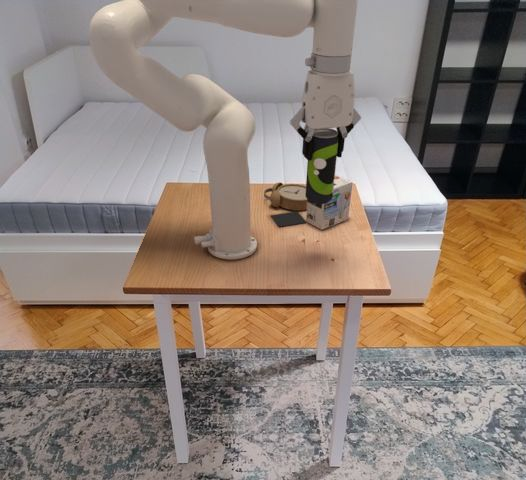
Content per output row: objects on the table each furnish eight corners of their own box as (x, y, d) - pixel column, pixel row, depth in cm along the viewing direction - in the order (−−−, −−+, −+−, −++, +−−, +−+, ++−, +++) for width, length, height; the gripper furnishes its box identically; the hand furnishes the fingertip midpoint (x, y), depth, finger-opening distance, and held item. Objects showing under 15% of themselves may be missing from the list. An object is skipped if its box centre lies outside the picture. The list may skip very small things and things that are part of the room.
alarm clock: (315, 202, 140) (263, 191, 140) (311, 218, 143) (260, 207, 143) (316, 186, 149) (267, 175, 148) (312, 201, 152) (264, 191, 151)
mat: (279, 227, 135) (279, 226, 135) (270, 216, 140) (270, 215, 140) (306, 223, 137) (306, 222, 137) (297, 212, 142) (297, 211, 142)
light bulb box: (321, 230, 134) (325, 192, 127) (304, 221, 138) (306, 184, 131) (349, 219, 139) (353, 181, 132) (332, 210, 143) (335, 173, 136)
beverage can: (316, 191, 119) (321, 125, 109) (337, 199, 115) (345, 132, 105) (299, 199, 115) (303, 132, 105) (320, 208, 112) (326, 139, 102)
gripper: (295, 70, 92) (291, 167, 104) (379, 65, 96) (366, 159, 108) (282, 61, 97) (279, 154, 109) (362, 57, 102) (351, 147, 113)
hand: (322, 156), depth 108 cm, fingers closed on beverage can, 6 cm apart
